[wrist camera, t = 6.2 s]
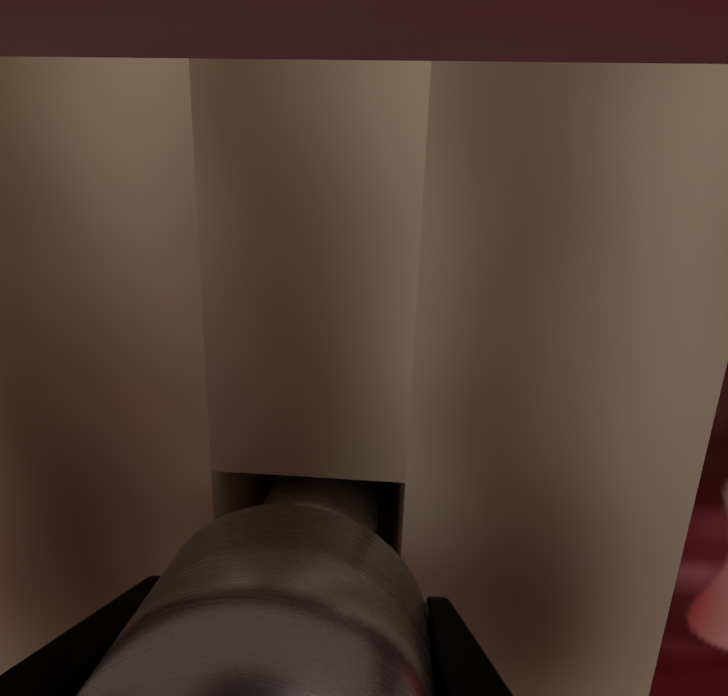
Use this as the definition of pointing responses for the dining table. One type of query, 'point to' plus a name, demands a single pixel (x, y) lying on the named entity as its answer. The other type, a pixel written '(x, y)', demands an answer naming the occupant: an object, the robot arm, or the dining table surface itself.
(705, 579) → the dining table surface
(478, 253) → the hitch block
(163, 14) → the dining table surface
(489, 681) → the robot arm
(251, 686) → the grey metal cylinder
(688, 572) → the dining table surface
